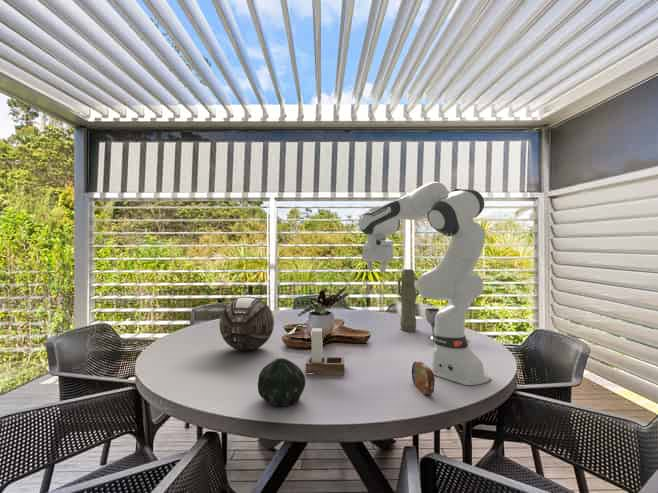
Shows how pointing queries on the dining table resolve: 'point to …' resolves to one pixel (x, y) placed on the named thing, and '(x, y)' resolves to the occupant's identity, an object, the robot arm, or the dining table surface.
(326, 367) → the walnut rack
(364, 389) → the dining table surface
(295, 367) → the squash
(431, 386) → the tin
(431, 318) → the wine glass
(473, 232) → the robot arm
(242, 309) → the sphere
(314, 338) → the cream rectangular block
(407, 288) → the stone pillar
